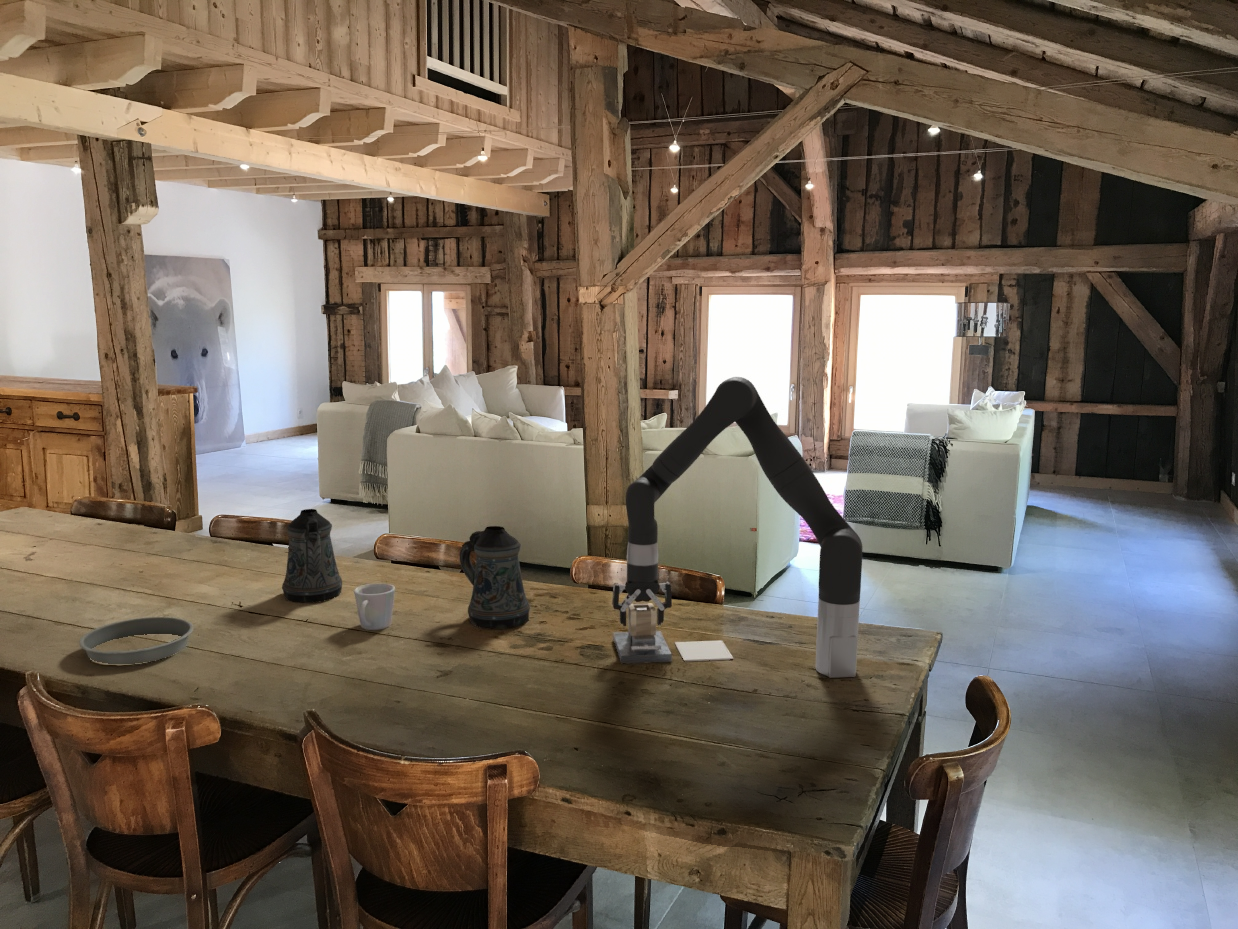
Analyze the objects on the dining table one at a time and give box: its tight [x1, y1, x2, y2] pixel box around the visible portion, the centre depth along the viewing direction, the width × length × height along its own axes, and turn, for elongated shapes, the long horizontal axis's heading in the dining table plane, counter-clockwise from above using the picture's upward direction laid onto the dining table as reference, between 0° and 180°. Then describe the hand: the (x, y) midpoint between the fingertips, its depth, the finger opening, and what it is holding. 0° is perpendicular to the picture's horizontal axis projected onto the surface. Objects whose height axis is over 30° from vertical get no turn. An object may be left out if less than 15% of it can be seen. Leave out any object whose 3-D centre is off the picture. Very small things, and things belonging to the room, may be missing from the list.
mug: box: [353, 582, 396, 631], centre depth 243 cm, size 10×15×10 cm
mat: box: [674, 639, 734, 662], centre depth 229 cm, size 12×12×1 cm
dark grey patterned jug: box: [281, 508, 343, 604], centre depth 268 cm, size 16×19×25 cm
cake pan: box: [78, 616, 194, 664], centre depth 227 cm, size 25×25×4 cm
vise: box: [612, 608, 673, 664], centre depth 228 cm, size 16×12×10 cm
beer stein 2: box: [459, 525, 531, 630], centre depth 249 cm, size 16×19×25 cm
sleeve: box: [627, 602, 657, 636], centre depth 228 cm, size 6×6×6 cm
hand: (641, 624), depth 228 cm, fingers open, 8 cm apart
